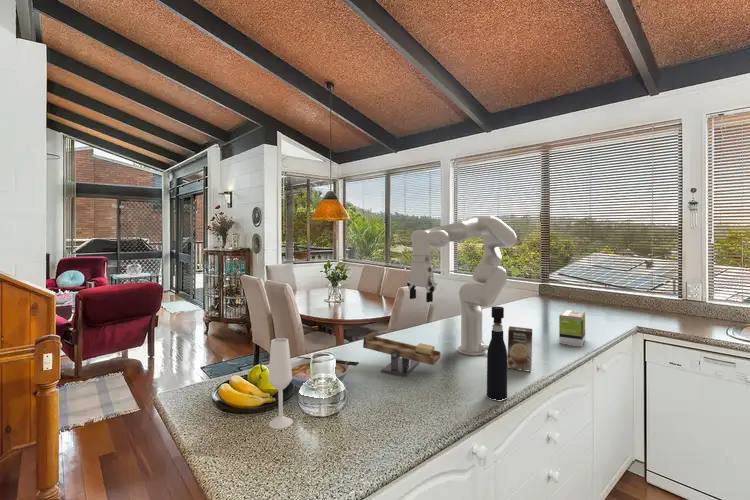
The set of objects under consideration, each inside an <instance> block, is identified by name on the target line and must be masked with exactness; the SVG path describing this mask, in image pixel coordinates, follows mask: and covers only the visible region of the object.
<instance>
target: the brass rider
mask: <svg viewBox="0 0 750 500" xmlns="http://www.w3.org/2000/svg"><path fill="white" fill-rule="evenodd" d="M415 346H416V351H415V353H417V354H421V355H425V356H429V357H432V356H433V355H434V350H435V349H436V348H435V346H434V345H430V344H426V343H422V342H420V343H418V344H417V345H415Z"/></svg>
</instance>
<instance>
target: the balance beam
mask: <svg viewBox="0 0 750 500" xmlns="http://www.w3.org/2000/svg"><path fill="white" fill-rule="evenodd" d="M376 333H377V332H376V331H372V332H371V333H368V334H367V335H365V336H364V337H363V340H362V341H363V345H362V348H364V349H367V350H371V351H375V352H379V353H383V354H387V355H390V356H391V352H399V353H400V358H406V359H410V360H414V361H417V362H419V363H420V364H421V363H422V364H425V365H429V366H434V365H435V364H436V363H437V362H438V361H439V360H440V359H441V351H440V350H435V349H434V355H433V356H432V357H429V356H425V355H421V354H417V353H415V351H416V346H417V345H413V344H409V343H405V342H401V341H397V340H392V339H389V338H385V337H384V338H383V337H380V336H376V335H377V334H376Z"/></svg>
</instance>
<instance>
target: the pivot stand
mask: <svg viewBox="0 0 750 500" xmlns="http://www.w3.org/2000/svg"><path fill="white" fill-rule="evenodd" d="M419 365H420V362H417V361H414V360H410V359H406V358H402V357H400V353H399V352H391V355H390V362H389V363H388V364H387V365H386V366H384V367H382V369H381V370H380V373H382V374H386V375H392V376H398V377H403V378H405V377H407V376H408V375H409V374H410V373H411V372H412V371H413V370H415V368H417V367H418V366H419Z"/></svg>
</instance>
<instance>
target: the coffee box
mask: <svg viewBox="0 0 750 500" xmlns="http://www.w3.org/2000/svg"><path fill="white" fill-rule="evenodd" d="M507 331H508V332H507V335H508V336H507V368H512V369H511V370H513V369H521V370H529V371H531V372H532V364H533V362H532V361H533V355H532V354H533V328H528V327H520V326H519V327H518V326H511V325H509V327H508V330H507Z"/></svg>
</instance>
